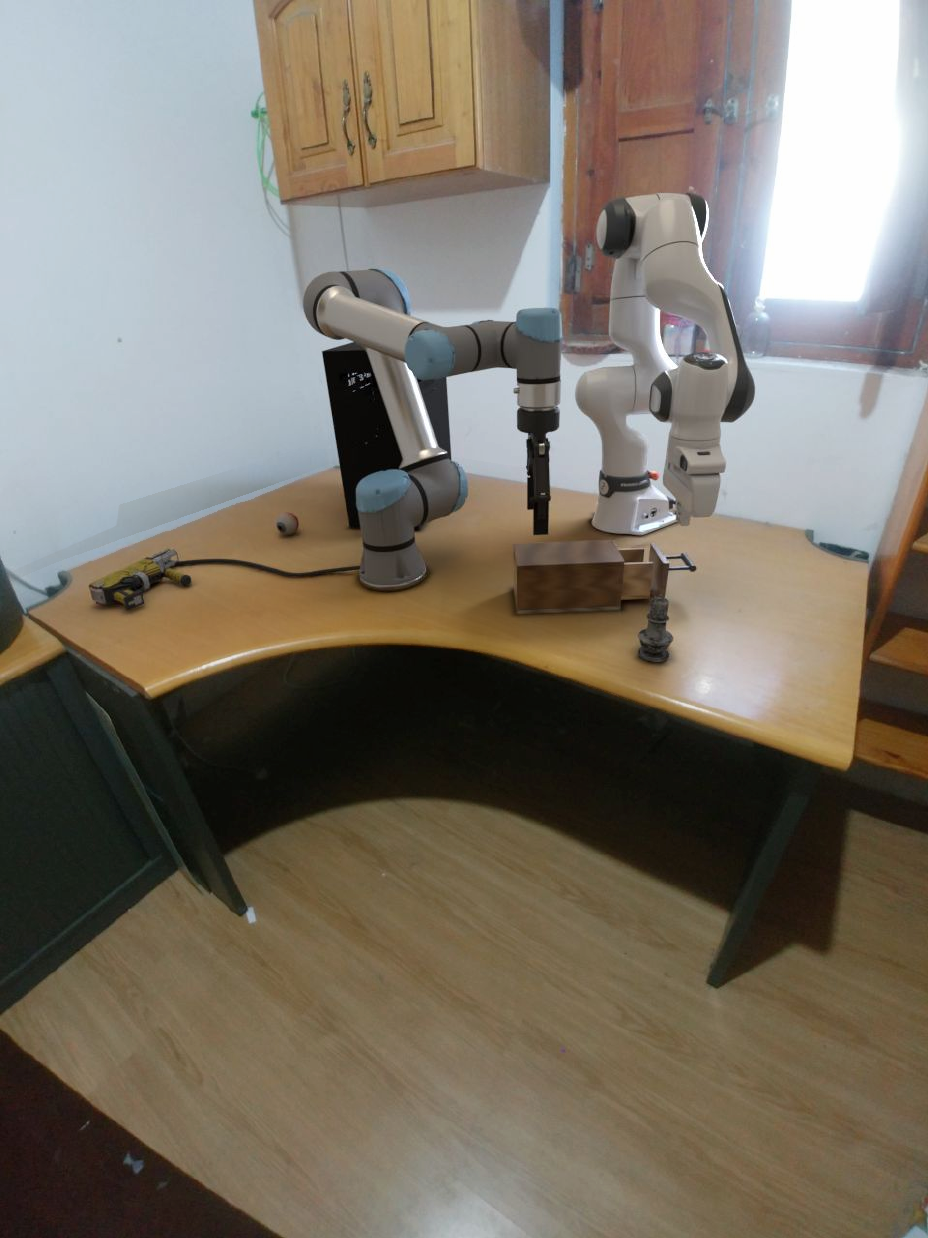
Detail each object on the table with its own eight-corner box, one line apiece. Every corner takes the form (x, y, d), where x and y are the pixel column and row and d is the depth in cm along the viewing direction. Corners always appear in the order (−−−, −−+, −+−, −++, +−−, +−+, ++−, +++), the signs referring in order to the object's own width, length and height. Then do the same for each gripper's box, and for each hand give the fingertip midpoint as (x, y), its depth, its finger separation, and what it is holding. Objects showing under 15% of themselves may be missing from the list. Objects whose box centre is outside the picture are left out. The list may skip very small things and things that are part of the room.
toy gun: (215, 556, 146) (165, 546, 150) (137, 598, 126) (82, 584, 130) (218, 574, 148) (168, 563, 152) (142, 617, 128) (87, 603, 132)
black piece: (419, 530, 162) (402, 348, 140) (349, 527, 167) (321, 351, 144) (453, 486, 194) (443, 332, 171) (393, 485, 198) (376, 334, 176)
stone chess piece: (672, 664, 103) (681, 602, 97) (636, 661, 104) (643, 600, 98) (669, 645, 108) (677, 585, 102) (635, 643, 109) (641, 584, 103)
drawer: (680, 579, 128) (685, 542, 124) (694, 601, 120) (701, 561, 115) (561, 584, 129) (562, 547, 125) (567, 606, 120) (569, 567, 116)
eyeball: (273, 537, 164) (268, 516, 161) (287, 528, 169) (282, 508, 166) (291, 539, 161) (286, 518, 158) (305, 530, 166) (301, 510, 163)
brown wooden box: (609, 585, 130) (612, 539, 124) (620, 610, 120) (624, 561, 115) (513, 589, 130) (513, 543, 125) (517, 614, 121) (516, 566, 115)
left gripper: (512, 395, 117) (513, 500, 127) (522, 423, 95) (522, 547, 106) (551, 393, 117) (549, 498, 127) (569, 420, 95) (565, 545, 106)
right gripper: (659, 438, 119) (651, 505, 126) (692, 467, 101) (681, 544, 108) (691, 436, 118) (682, 504, 125) (730, 465, 101) (717, 542, 108)
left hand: (537, 521), depth 117 cm, fingers open, 13 cm apart
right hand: (682, 523), depth 116 cm, fingers closed
